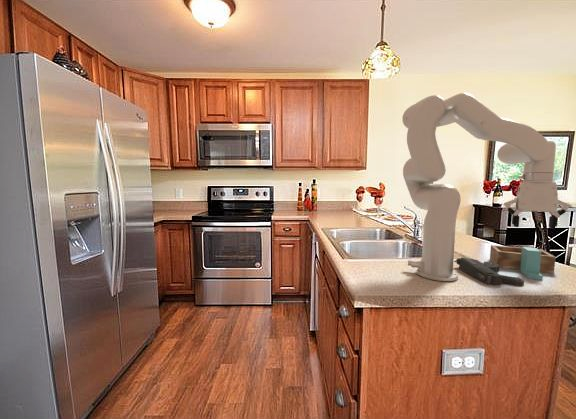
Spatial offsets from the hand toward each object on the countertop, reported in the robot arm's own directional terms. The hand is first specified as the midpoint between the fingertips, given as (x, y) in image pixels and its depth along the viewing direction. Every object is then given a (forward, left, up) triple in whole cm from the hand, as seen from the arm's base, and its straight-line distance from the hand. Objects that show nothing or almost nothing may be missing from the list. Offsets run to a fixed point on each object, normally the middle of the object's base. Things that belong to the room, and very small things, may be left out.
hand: (533, 227), depth 94 cm
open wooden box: (0, +10, -16) cm, 20 cm away
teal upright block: (0, -2, -17) cm, 17 cm away
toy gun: (-14, -9, -17) cm, 24 cm away
